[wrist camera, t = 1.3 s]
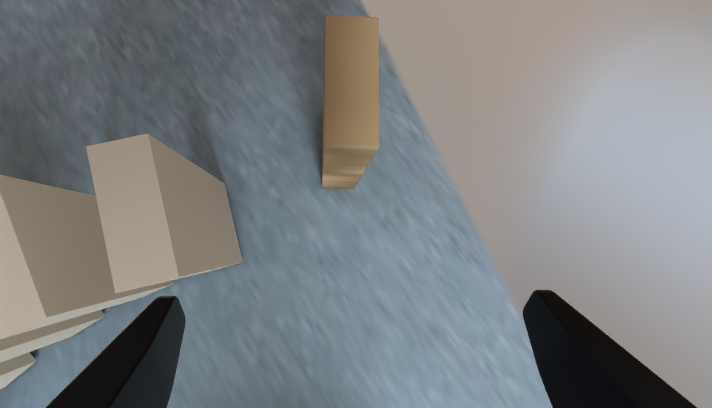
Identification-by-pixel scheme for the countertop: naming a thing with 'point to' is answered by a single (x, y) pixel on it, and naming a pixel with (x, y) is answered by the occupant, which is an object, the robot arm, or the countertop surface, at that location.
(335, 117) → the domino
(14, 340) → the domino
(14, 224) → the domino
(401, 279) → the countertop surface
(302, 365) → the countertop surface
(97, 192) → the domino
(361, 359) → the countertop surface
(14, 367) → the domino
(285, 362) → the countertop surface
